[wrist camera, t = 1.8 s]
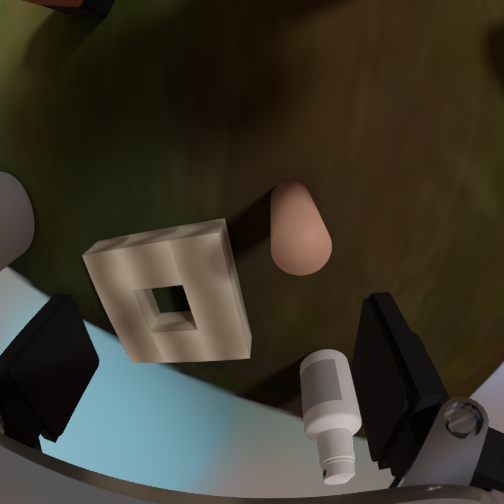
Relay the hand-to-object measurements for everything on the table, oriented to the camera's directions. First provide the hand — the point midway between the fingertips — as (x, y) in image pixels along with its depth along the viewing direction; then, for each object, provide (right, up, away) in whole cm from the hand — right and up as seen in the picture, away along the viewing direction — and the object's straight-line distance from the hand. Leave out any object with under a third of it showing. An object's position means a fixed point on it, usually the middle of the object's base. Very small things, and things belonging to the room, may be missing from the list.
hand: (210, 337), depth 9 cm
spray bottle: (+11, -13, +32) cm, 36 cm away
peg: (+5, +8, +22) cm, 24 cm away
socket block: (-8, -2, +27) cm, 29 cm away
